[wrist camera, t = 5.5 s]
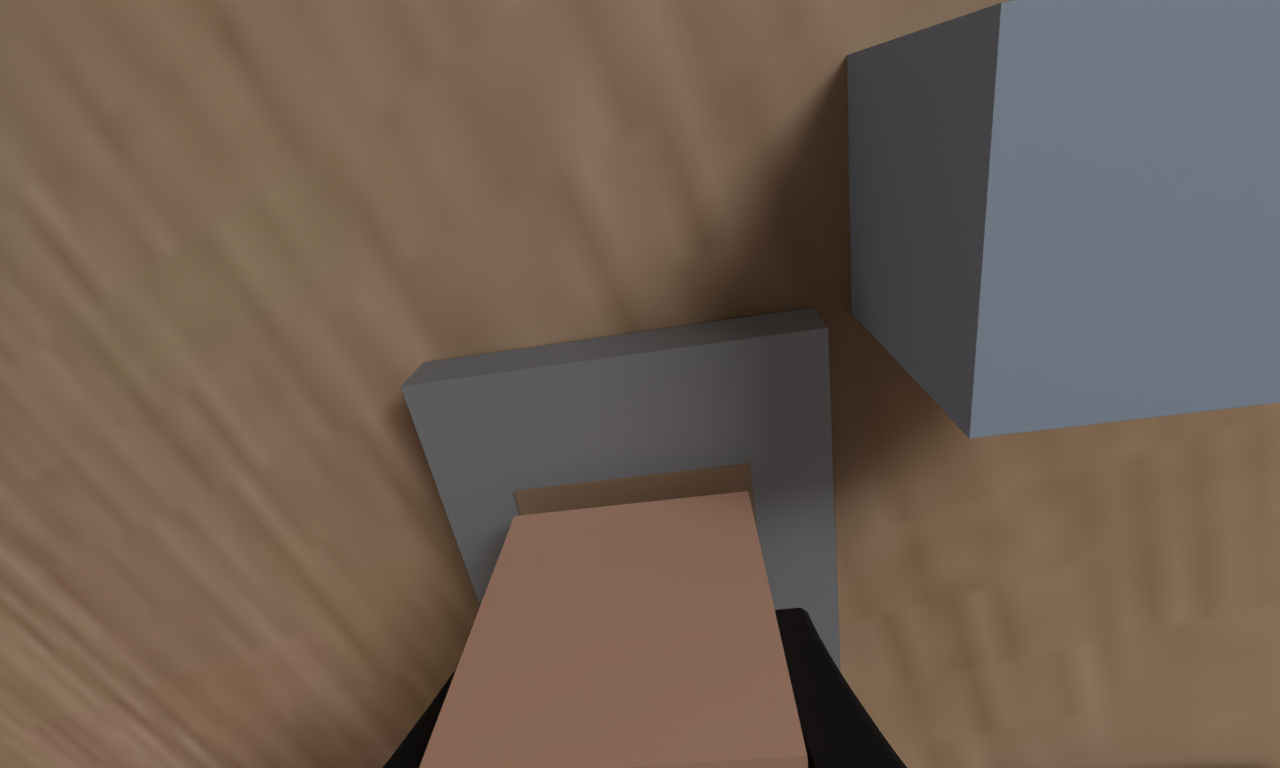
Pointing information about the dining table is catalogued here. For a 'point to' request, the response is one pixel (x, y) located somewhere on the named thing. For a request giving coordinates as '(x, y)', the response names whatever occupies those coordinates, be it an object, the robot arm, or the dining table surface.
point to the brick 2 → (1072, 209)
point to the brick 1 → (625, 646)
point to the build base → (645, 439)
